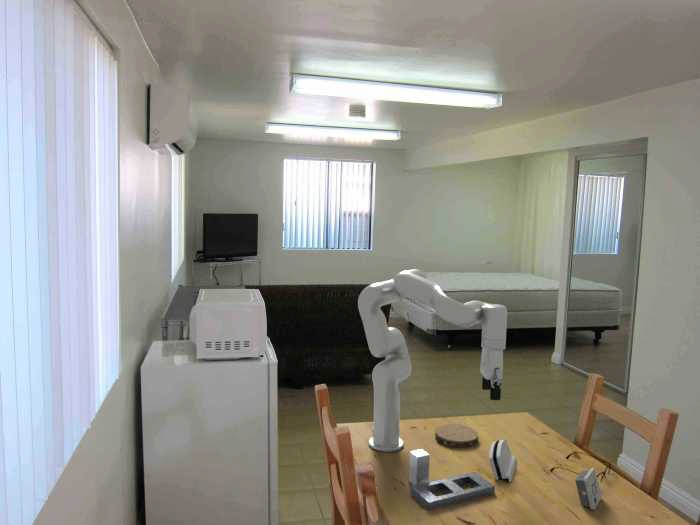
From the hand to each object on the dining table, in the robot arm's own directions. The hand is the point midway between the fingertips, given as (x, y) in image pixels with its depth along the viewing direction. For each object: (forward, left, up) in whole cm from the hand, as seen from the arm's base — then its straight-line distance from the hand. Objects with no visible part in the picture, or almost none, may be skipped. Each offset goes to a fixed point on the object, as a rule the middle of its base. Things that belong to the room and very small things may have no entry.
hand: (490, 394), depth 182 cm
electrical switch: (+26, +17, -27) cm, 41 cm away
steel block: (-4, -24, -27) cm, 37 cm away
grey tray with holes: (+6, -18, -27) cm, 33 cm away
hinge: (-1, +7, -28) cm, 28 cm away
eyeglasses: (+11, +30, -28) cm, 42 cm away
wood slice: (-27, +7, -28) cm, 39 cm away
